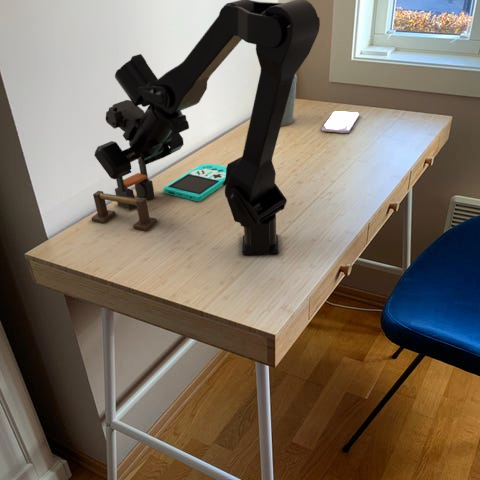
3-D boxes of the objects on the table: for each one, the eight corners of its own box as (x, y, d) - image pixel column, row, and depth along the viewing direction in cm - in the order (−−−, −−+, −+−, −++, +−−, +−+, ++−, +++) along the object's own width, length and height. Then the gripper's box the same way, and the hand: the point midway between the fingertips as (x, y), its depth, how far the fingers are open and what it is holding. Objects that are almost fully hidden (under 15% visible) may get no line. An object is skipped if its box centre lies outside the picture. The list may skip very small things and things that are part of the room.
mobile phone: (360, 112, 148) (349, 130, 137) (359, 115, 149) (348, 133, 138) (333, 110, 151) (320, 127, 140) (333, 113, 151) (320, 131, 140)
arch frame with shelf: (130, 210, 110) (120, 164, 104) (117, 205, 112) (108, 160, 106) (154, 197, 114) (147, 152, 108) (142, 193, 116) (135, 148, 110)
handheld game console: (240, 174, 121) (240, 168, 121) (200, 202, 111) (199, 196, 110) (204, 166, 126) (204, 161, 125) (162, 193, 116) (161, 187, 115)
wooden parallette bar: (157, 221, 105) (153, 196, 102) (146, 231, 102) (142, 205, 99) (103, 212, 110) (97, 187, 106) (92, 221, 107) (85, 196, 103)
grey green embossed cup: (277, 113, 154) (277, 69, 147) (303, 120, 148) (304, 74, 141) (252, 122, 149) (251, 77, 142) (278, 130, 143) (278, 83, 136)
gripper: (165, 76, 102) (136, 124, 115) (88, 102, 91) (66, 152, 103) (199, 125, 103) (167, 167, 115) (127, 156, 92) (100, 199, 104)
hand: (126, 170), depth 110 cm, fingers closed on arch frame with shelf, 7 cm apart
